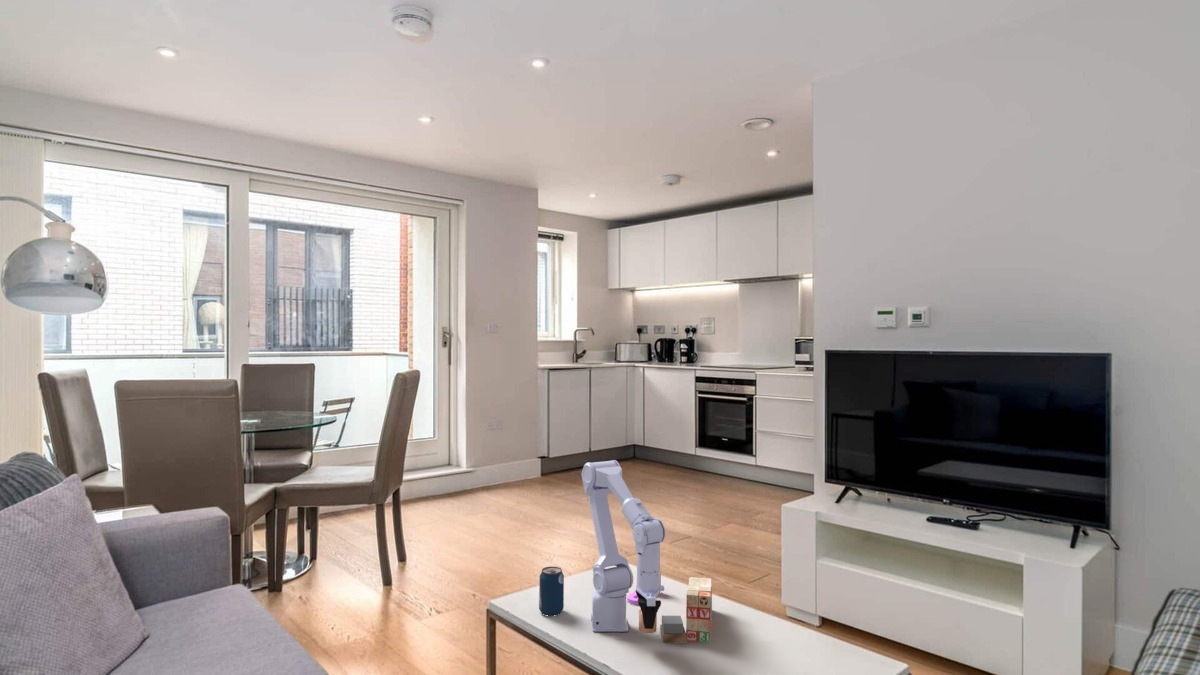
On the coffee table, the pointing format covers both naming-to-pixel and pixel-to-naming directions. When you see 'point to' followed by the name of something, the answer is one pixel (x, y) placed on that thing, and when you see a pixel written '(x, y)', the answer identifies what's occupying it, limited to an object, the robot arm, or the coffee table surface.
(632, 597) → the bracket
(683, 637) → the tower base
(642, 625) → the terracotta cylinder
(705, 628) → the stack of blocks
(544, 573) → the soda can
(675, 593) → the coffee table surface
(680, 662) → the coffee table surface
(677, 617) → the tower top
